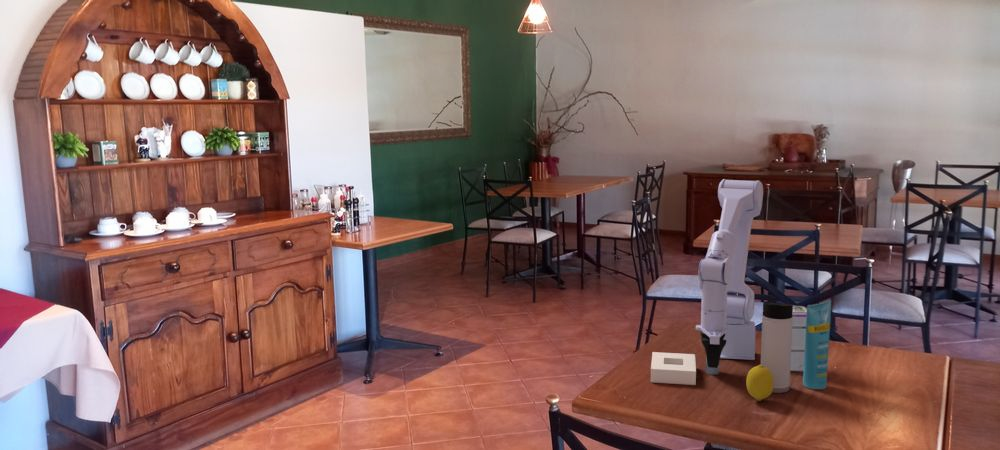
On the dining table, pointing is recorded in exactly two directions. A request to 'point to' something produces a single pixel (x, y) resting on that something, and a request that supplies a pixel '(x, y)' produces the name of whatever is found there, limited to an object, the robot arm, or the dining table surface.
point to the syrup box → (798, 338)
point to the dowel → (711, 369)
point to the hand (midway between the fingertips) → (712, 364)
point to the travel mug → (777, 343)
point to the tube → (817, 345)
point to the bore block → (673, 368)
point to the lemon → (759, 382)
